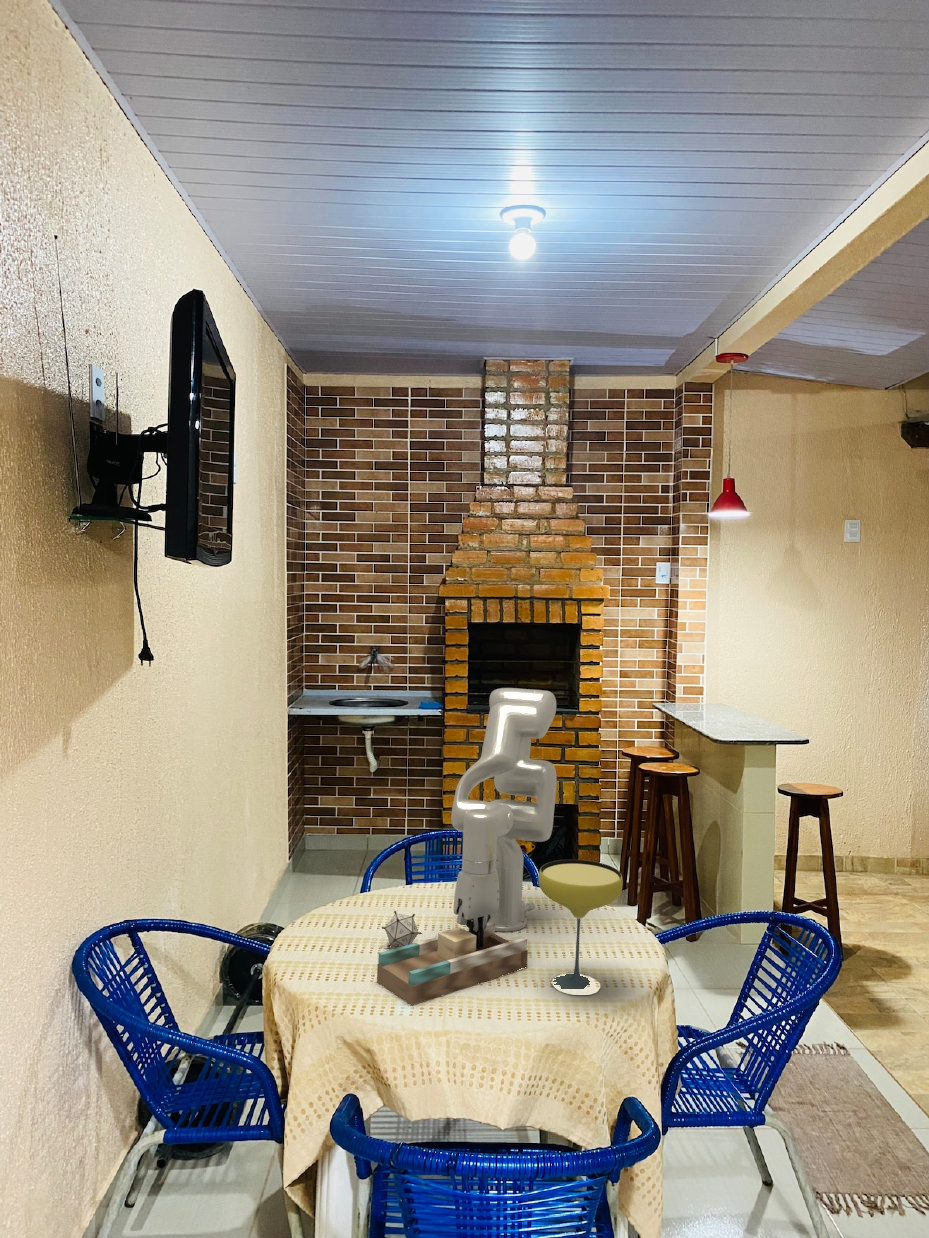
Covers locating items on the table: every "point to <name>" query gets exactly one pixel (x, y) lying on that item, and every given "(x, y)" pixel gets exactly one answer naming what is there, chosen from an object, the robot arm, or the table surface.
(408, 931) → the game die
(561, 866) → the cocktail glass
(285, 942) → the table surface
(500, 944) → the trap deck
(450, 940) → the maple block
